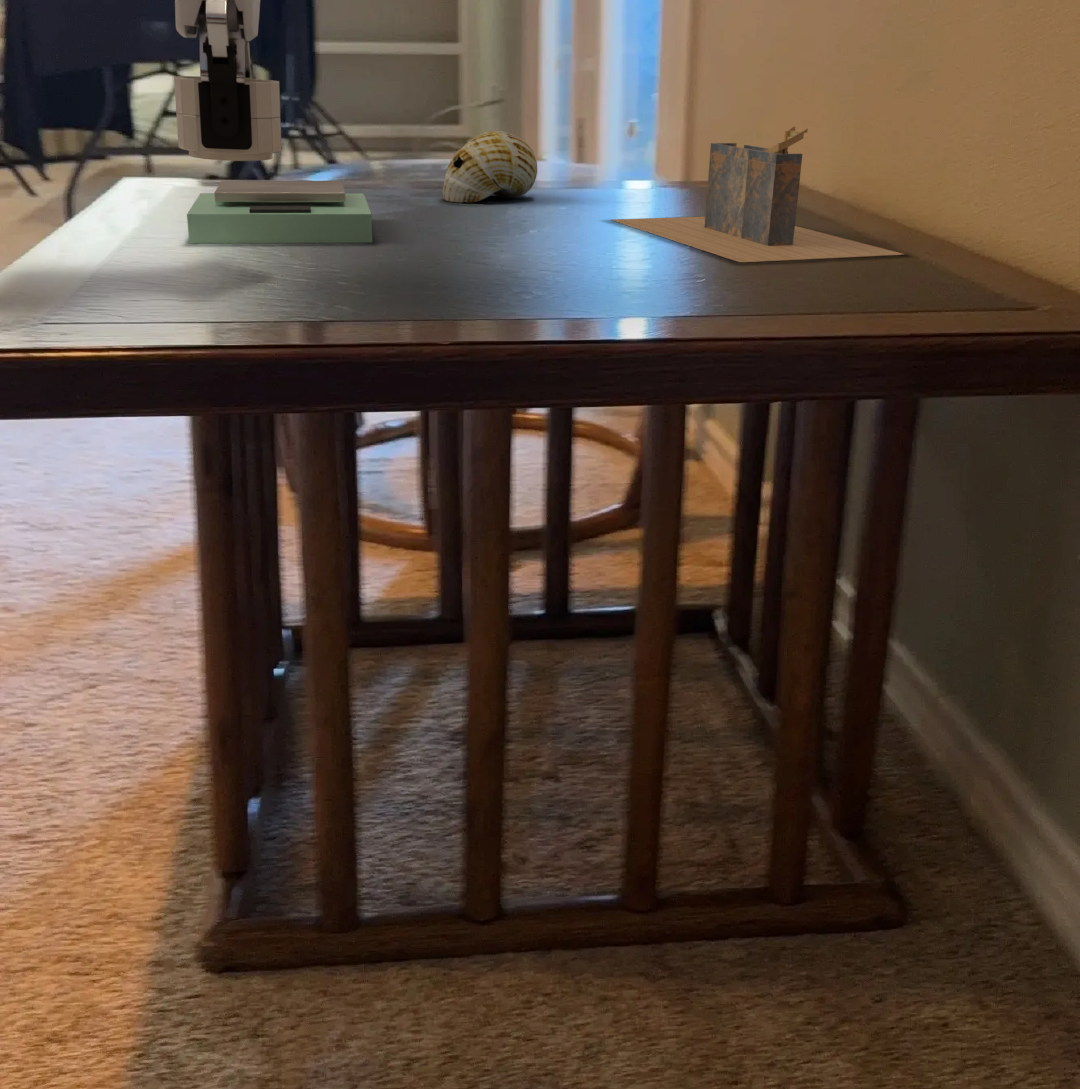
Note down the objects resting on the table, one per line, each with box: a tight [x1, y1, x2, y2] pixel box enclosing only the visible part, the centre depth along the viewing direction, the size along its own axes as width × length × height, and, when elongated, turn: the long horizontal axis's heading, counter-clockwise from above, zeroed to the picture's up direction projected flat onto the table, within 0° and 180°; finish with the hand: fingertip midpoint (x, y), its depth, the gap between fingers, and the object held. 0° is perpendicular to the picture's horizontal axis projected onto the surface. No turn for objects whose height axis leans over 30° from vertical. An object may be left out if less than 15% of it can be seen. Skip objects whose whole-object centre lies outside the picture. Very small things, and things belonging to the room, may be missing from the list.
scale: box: [186, 192, 373, 245], centre depth 104 cm, size 15×14×3 cm
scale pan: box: [213, 180, 346, 202], centre depth 105 cm, size 11×9×1 cm
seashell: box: [442, 130, 538, 204], centre depth 128 cm, size 10×10×10 cm
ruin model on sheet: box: [612, 126, 905, 263], centre depth 106 cm, size 25×16×10 cm, turn 22°
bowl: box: [173, 75, 282, 162], centre depth 80 cm, size 7×7×5 cm
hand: (230, 141), depth 81 cm, fingers closed on bowl, 6 cm apart
